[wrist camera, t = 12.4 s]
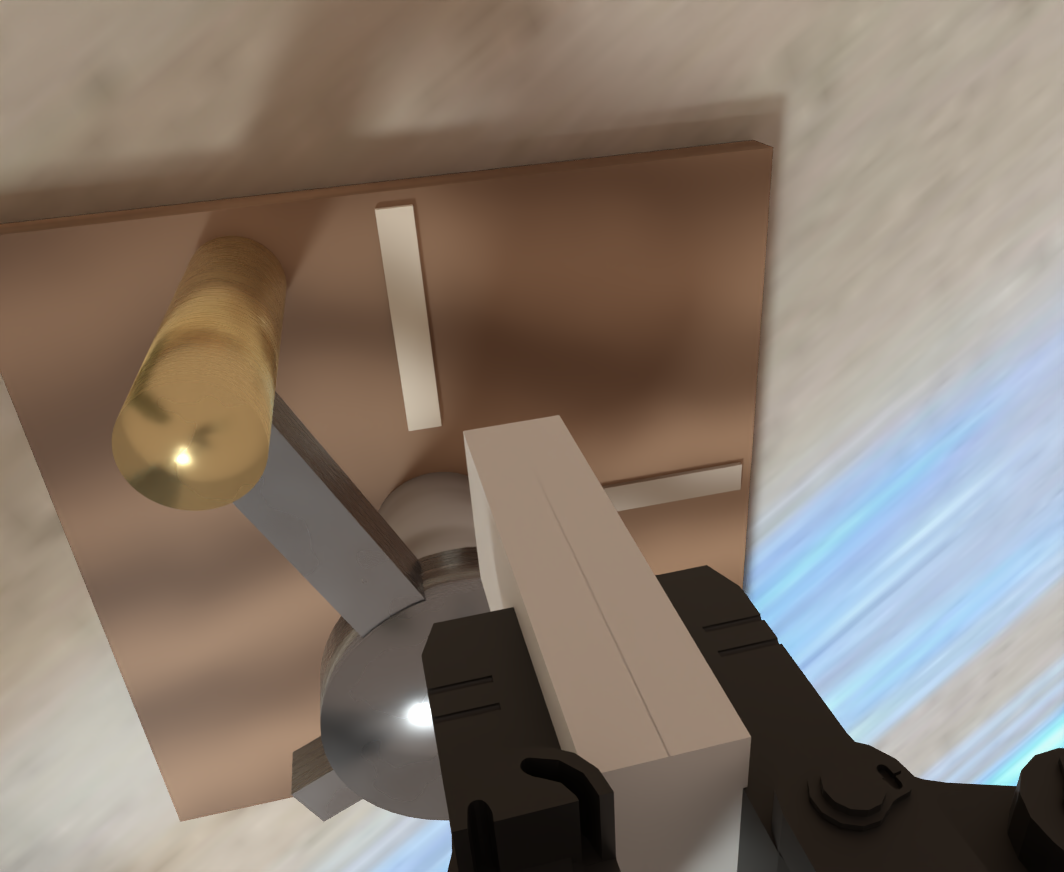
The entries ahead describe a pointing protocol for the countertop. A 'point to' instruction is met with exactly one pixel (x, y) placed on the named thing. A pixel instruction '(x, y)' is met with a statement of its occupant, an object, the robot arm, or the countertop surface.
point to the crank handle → (298, 526)
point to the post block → (391, 401)
